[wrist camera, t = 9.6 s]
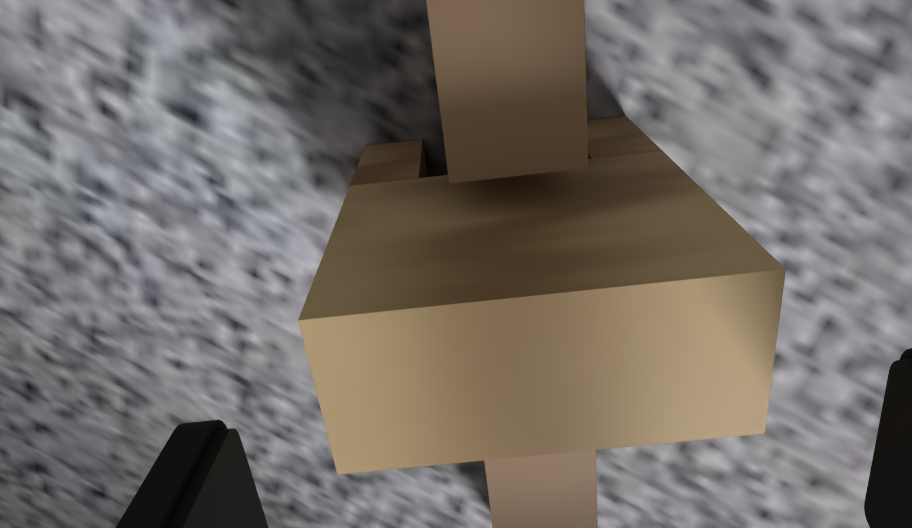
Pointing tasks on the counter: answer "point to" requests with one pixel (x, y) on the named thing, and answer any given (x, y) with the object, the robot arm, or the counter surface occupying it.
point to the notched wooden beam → (513, 154)
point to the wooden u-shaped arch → (537, 311)
